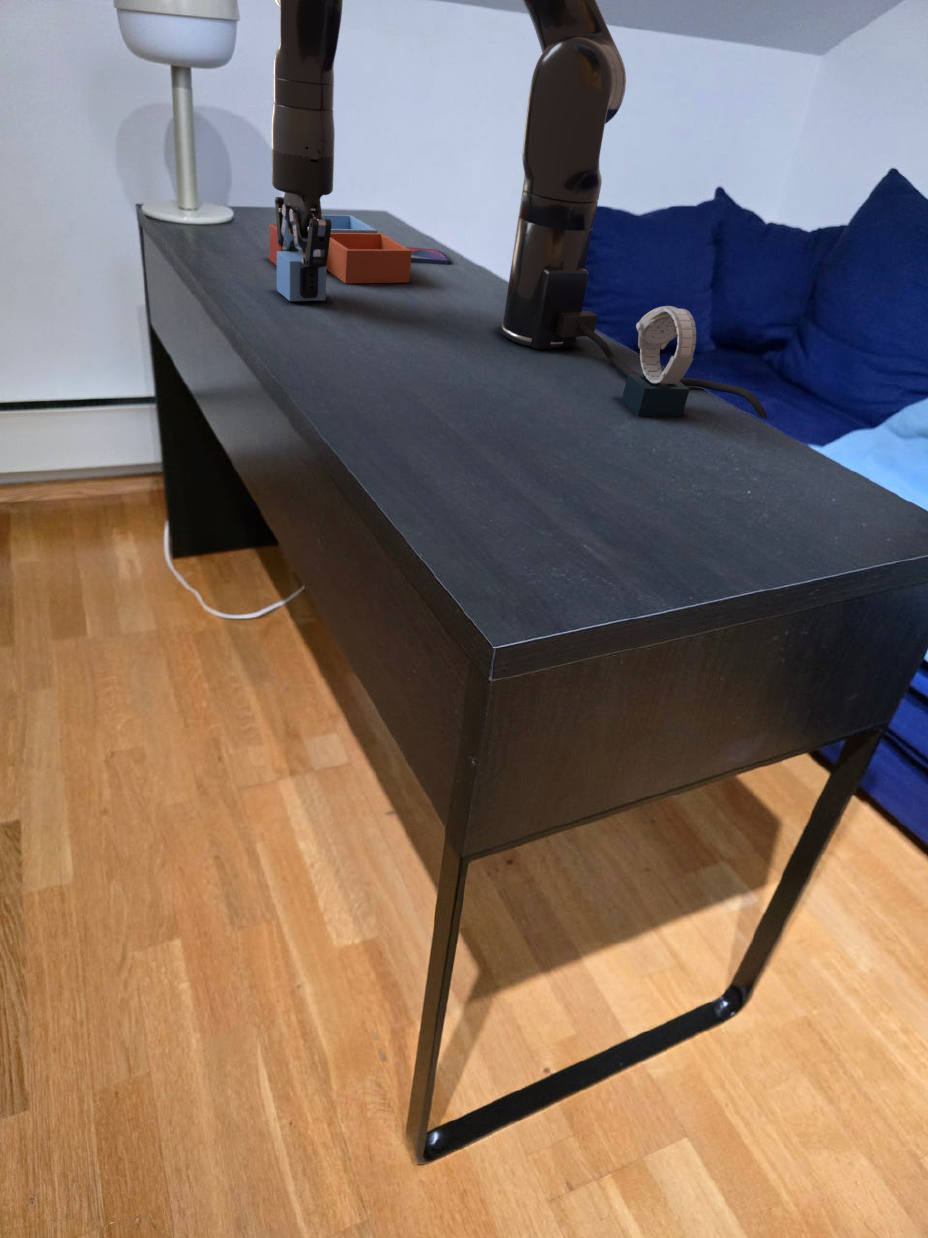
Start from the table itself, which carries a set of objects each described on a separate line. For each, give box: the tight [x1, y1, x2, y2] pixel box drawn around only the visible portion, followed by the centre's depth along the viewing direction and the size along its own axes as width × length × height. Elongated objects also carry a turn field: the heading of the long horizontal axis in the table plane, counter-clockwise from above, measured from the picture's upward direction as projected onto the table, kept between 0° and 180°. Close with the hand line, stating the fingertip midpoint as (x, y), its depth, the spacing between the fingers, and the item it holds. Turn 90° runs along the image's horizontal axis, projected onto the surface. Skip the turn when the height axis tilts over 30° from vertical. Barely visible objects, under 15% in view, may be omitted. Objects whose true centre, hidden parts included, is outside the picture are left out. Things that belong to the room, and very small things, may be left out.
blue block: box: [276, 251, 327, 302], centre depth 116 cm, size 5×5×5 cm
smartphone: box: [405, 246, 450, 265], centre depth 144 cm, size 7×15×1 cm, turn 107°
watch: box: [621, 305, 697, 417], centre depth 96 cm, size 6×8×11 cm
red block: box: [269, 223, 307, 266], centre depth 129 cm, size 5×5×5 cm
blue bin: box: [322, 214, 378, 233], centre depth 139 cm, size 10×10×4 cm
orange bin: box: [320, 232, 412, 284], centre depth 130 cm, size 10×10×4 cm
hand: (301, 290), depth 117 cm, fingers closed on blue block, 5 cm apart
